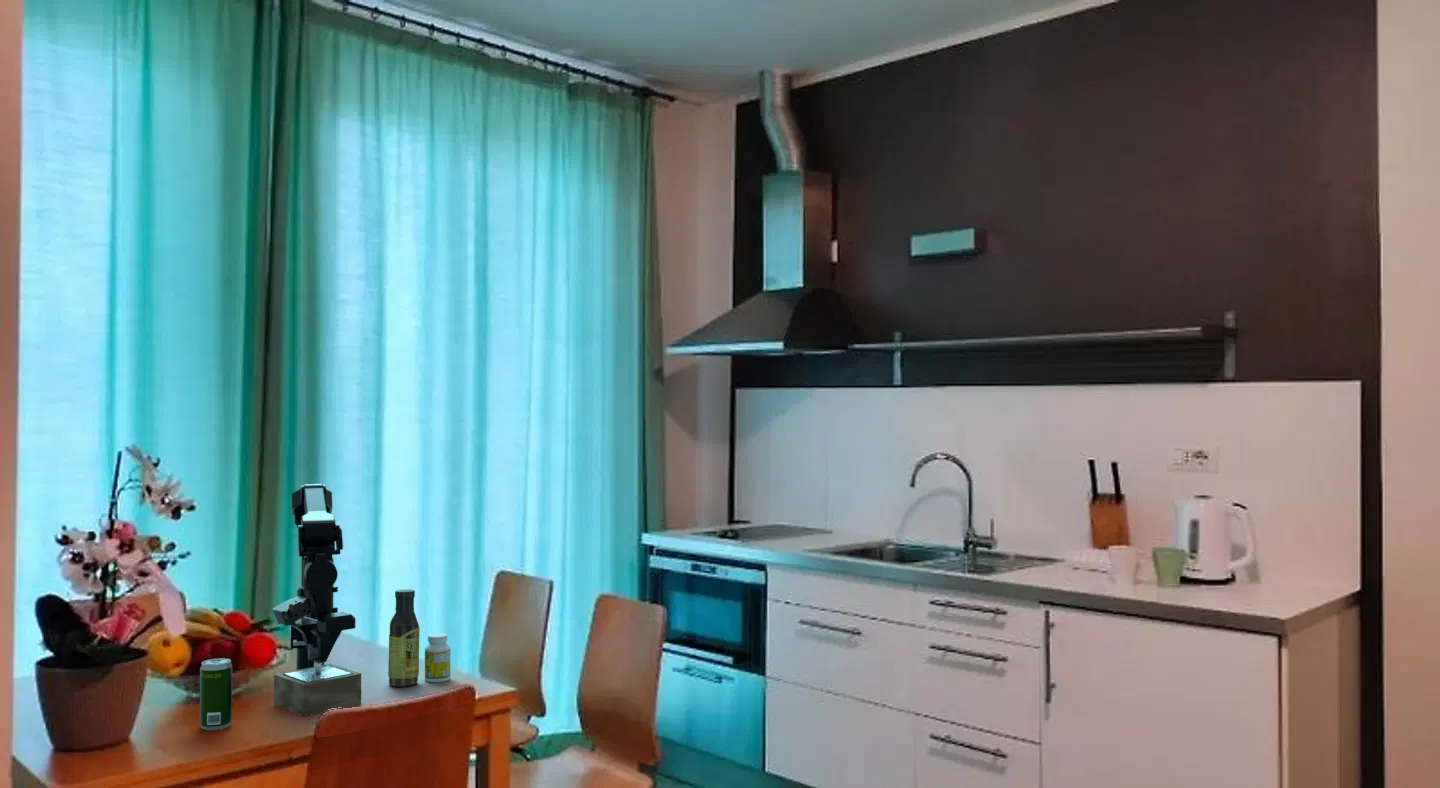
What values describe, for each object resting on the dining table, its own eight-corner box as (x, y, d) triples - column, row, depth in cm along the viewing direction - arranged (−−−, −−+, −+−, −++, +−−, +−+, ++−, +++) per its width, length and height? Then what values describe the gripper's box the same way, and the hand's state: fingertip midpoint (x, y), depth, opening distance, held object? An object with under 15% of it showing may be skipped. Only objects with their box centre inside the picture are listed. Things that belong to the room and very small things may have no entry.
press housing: (274, 704, 218) (274, 674, 218) (330, 692, 227) (330, 663, 227) (303, 716, 210) (304, 685, 210) (361, 703, 219) (361, 673, 219)
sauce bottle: (410, 688, 230) (410, 593, 230) (382, 687, 231) (382, 592, 231) (424, 681, 236) (424, 588, 236) (397, 679, 238) (398, 587, 238)
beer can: (232, 728, 202) (232, 663, 202) (200, 732, 200) (200, 666, 200) (231, 720, 207) (231, 657, 207) (199, 724, 205) (200, 659, 205)
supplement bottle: (452, 681, 236) (452, 636, 236) (426, 683, 234) (426, 638, 234) (448, 675, 241) (448, 631, 241) (423, 677, 239) (423, 633, 239)
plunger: (284, 678, 218) (284, 643, 218) (327, 669, 225) (327, 636, 225) (307, 686, 212) (307, 650, 212) (351, 677, 219) (351, 642, 219)
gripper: (256, 581, 219) (256, 660, 218) (302, 593, 206) (302, 676, 206) (309, 575, 227) (309, 651, 227) (357, 585, 214) (356, 665, 214)
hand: (317, 660), depth 218 cm, fingers closed on plunger, 4 cm apart
